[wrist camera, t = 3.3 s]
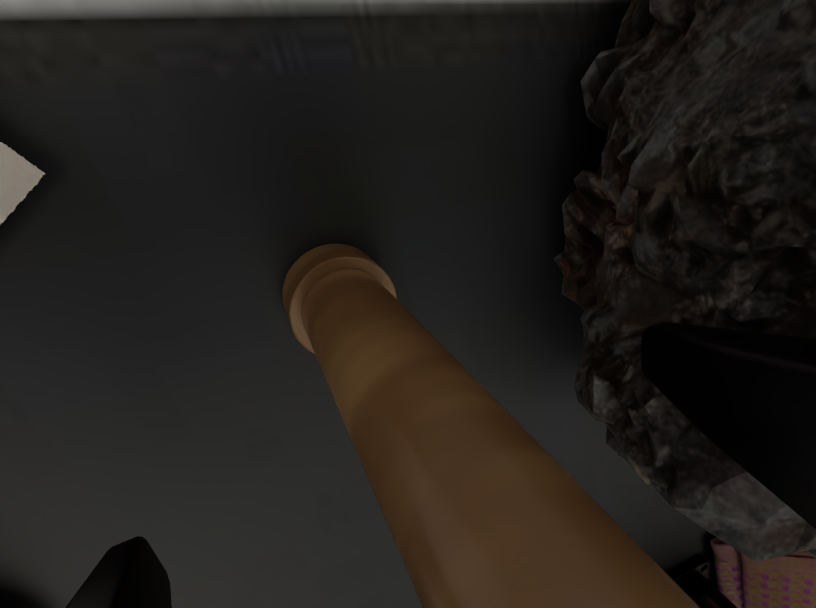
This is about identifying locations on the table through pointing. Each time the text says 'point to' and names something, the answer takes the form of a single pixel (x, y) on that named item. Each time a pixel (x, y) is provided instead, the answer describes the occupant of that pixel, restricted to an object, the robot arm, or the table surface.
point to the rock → (696, 232)
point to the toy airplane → (15, 180)
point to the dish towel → (765, 578)
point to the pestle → (457, 460)
